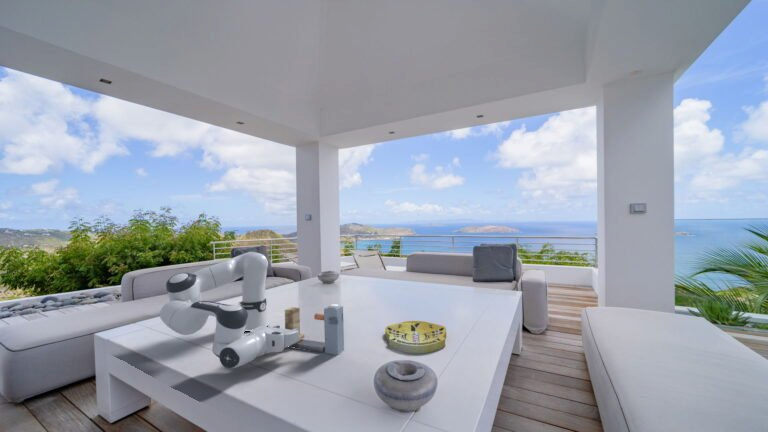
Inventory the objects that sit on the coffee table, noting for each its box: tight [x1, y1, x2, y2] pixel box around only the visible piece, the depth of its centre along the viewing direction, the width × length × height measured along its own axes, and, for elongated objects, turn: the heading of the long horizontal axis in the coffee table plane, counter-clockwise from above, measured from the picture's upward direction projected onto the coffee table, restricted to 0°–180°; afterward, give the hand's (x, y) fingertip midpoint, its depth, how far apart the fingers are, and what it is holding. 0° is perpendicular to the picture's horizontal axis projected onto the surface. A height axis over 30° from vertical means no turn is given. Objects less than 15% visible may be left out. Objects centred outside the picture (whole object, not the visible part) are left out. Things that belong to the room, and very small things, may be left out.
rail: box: [288, 338, 325, 354], centre depth 126 cm, size 24×5×4 cm, turn 69°
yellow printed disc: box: [385, 320, 447, 354], centre depth 131 cm, size 28×3×30 cm
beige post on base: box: [284, 306, 305, 344], centre depth 128 cm, size 7×7×14 cm
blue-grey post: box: [323, 303, 345, 356], centre depth 120 cm, size 6×5×19 cm
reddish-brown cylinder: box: [313, 313, 324, 321], centre depth 123 cm, size 6×2×2 cm, turn 68°
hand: (287, 328), depth 125 cm, fingers open, 8 cm apart
